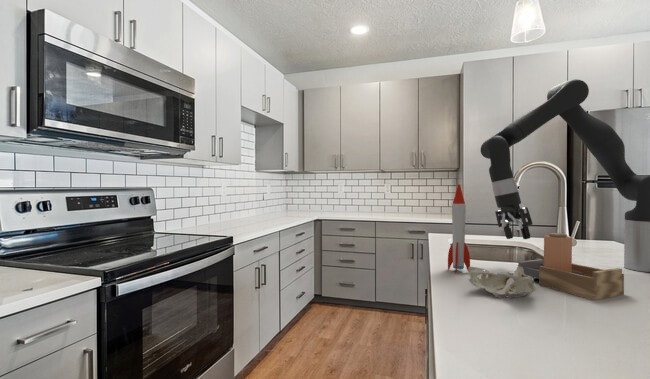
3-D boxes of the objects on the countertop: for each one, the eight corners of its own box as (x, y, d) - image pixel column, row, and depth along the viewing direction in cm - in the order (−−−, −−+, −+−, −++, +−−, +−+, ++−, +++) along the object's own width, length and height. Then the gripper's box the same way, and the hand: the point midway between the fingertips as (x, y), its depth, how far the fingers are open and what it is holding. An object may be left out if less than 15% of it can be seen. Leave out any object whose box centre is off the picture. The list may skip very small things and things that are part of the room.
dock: (567, 280, 104) (567, 257, 104) (623, 294, 90) (624, 268, 90) (539, 284, 99) (539, 261, 99) (594, 300, 86) (594, 273, 85)
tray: (539, 270, 111) (540, 259, 111) (582, 280, 99) (582, 268, 99) (518, 273, 107) (518, 261, 107) (560, 284, 95) (560, 271, 95)
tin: (554, 273, 104) (554, 232, 104) (571, 277, 99) (572, 234, 99) (543, 275, 102) (544, 233, 102) (560, 279, 97) (561, 235, 97)
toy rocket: (460, 268, 118) (461, 184, 118) (470, 272, 112) (471, 183, 112) (446, 269, 117) (447, 183, 117) (455, 273, 111) (456, 183, 111)
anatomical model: (457, 264, 89) (495, 249, 105) (457, 298, 89) (495, 278, 105) (518, 275, 78) (551, 257, 94) (518, 314, 78) (550, 290, 94)
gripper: (530, 188, 110) (543, 236, 108) (502, 193, 124) (513, 236, 122) (510, 192, 109) (523, 241, 107) (484, 197, 123) (495, 240, 121)
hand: (518, 238), depth 115 cm, fingers open, 8 cm apart
